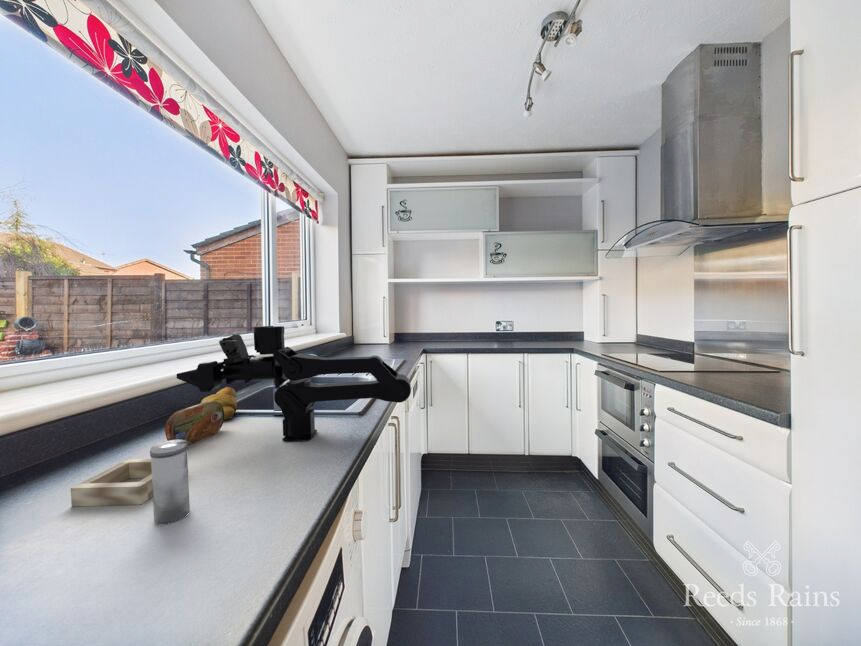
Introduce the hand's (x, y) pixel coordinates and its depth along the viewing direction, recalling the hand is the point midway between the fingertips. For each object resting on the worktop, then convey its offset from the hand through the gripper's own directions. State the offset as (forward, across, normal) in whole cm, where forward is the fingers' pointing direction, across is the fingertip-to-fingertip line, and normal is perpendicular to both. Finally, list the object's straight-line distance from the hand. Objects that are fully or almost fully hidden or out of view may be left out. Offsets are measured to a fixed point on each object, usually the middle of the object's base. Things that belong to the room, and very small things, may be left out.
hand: (189, 372), depth 85 cm
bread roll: (+4, -19, +17) cm, 26 cm away
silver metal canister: (-15, +33, +17) cm, 40 cm away
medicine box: (-14, -23, +17) cm, 32 cm away
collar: (-3, +23, +17) cm, 28 cm away
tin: (0, -1, +17) cm, 17 cm away
